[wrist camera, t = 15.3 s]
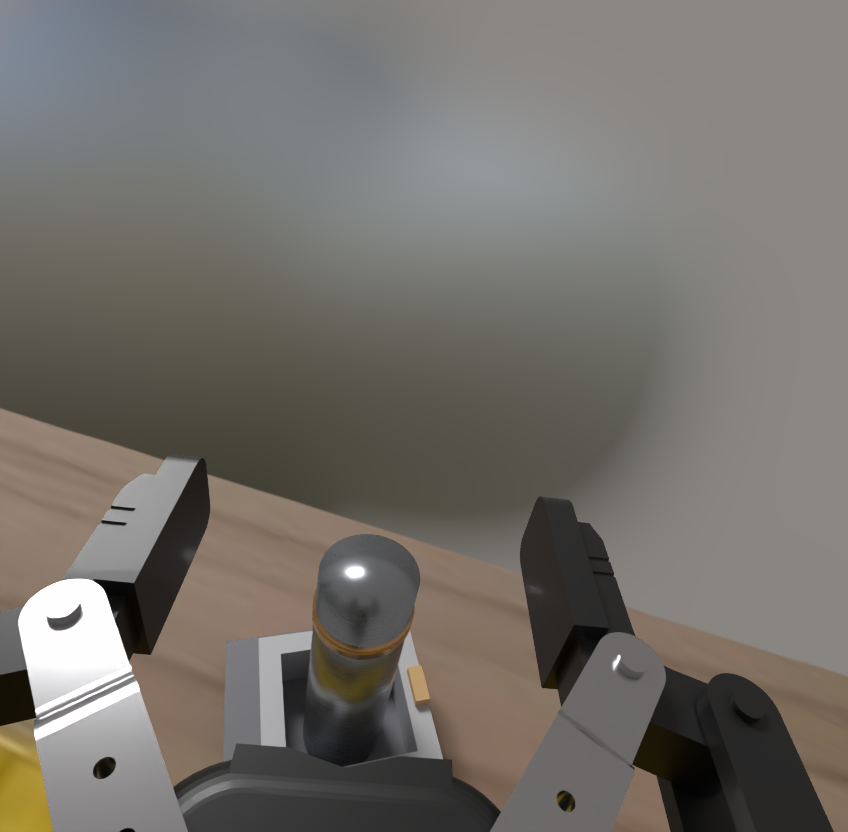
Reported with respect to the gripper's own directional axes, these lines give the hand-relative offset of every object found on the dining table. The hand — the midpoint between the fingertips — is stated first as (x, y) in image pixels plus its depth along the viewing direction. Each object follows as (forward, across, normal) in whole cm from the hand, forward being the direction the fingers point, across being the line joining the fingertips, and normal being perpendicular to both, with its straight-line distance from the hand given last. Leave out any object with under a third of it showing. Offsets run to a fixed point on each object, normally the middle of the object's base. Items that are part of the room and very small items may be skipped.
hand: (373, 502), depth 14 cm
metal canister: (+6, 0, -24) cm, 25 cm away
